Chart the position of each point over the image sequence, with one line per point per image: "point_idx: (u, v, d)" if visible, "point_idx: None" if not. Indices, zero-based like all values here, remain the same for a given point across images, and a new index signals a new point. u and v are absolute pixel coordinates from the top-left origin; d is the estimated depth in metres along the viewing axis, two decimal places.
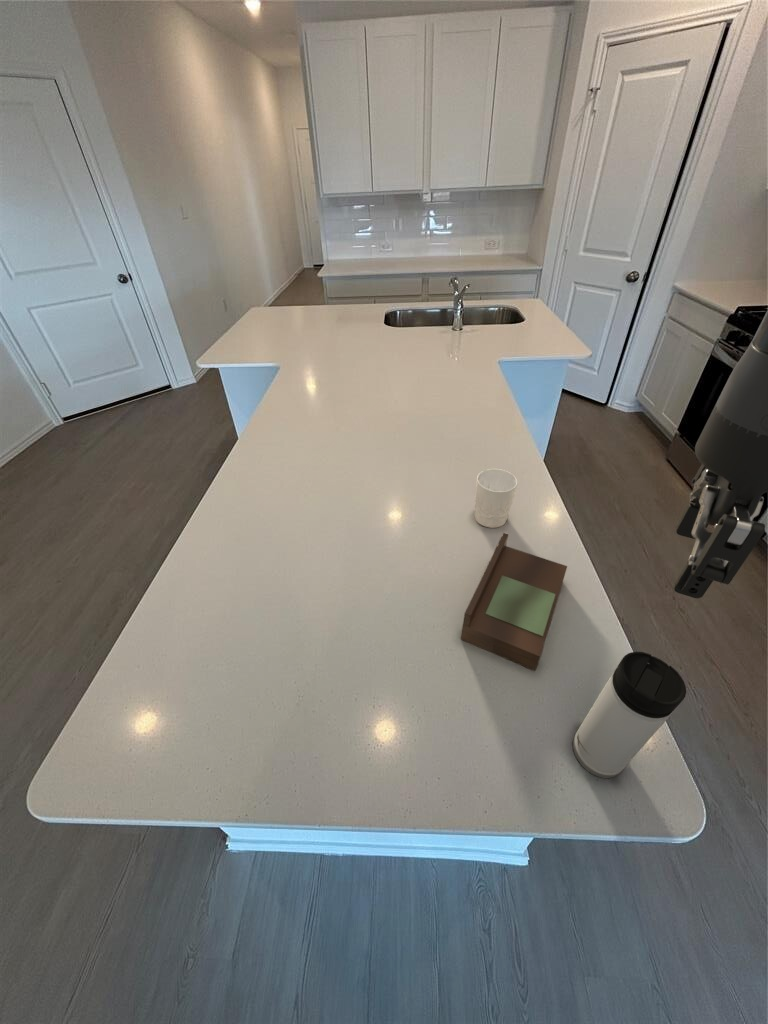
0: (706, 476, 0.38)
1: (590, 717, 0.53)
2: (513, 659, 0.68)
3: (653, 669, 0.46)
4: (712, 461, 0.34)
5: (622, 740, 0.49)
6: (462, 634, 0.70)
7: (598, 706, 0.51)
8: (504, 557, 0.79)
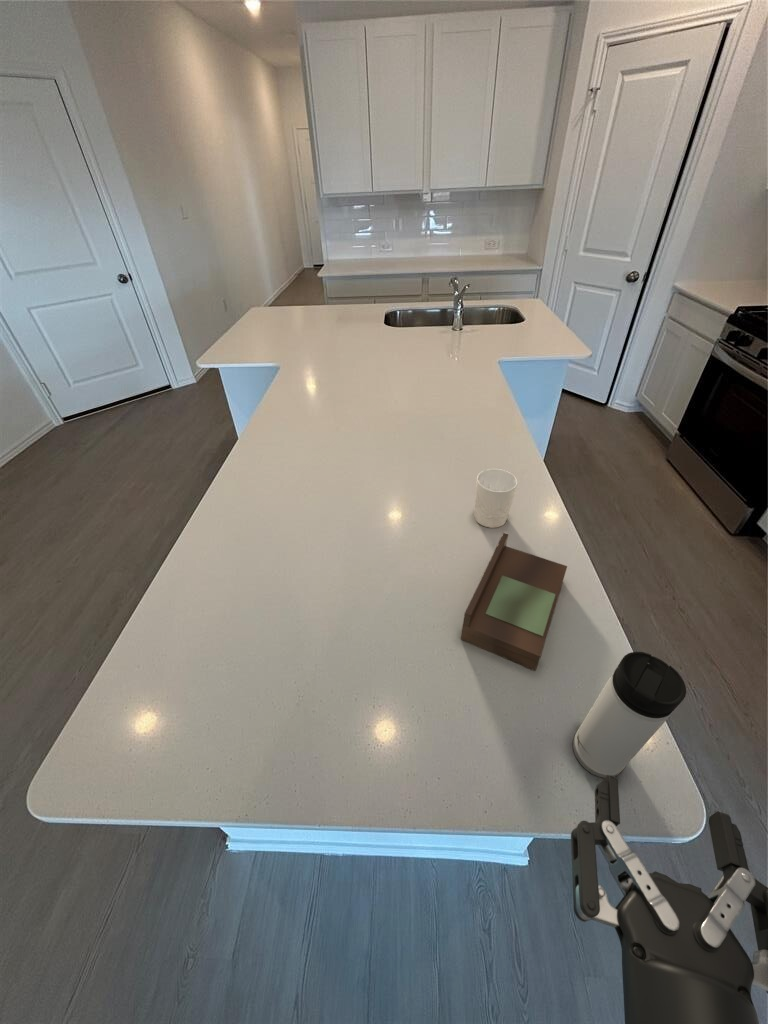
0: None
1: (590, 717, 0.53)
2: (513, 659, 0.68)
3: (653, 669, 0.46)
4: None
5: (622, 740, 0.49)
6: (462, 634, 0.70)
7: (598, 706, 0.51)
8: (504, 557, 0.79)
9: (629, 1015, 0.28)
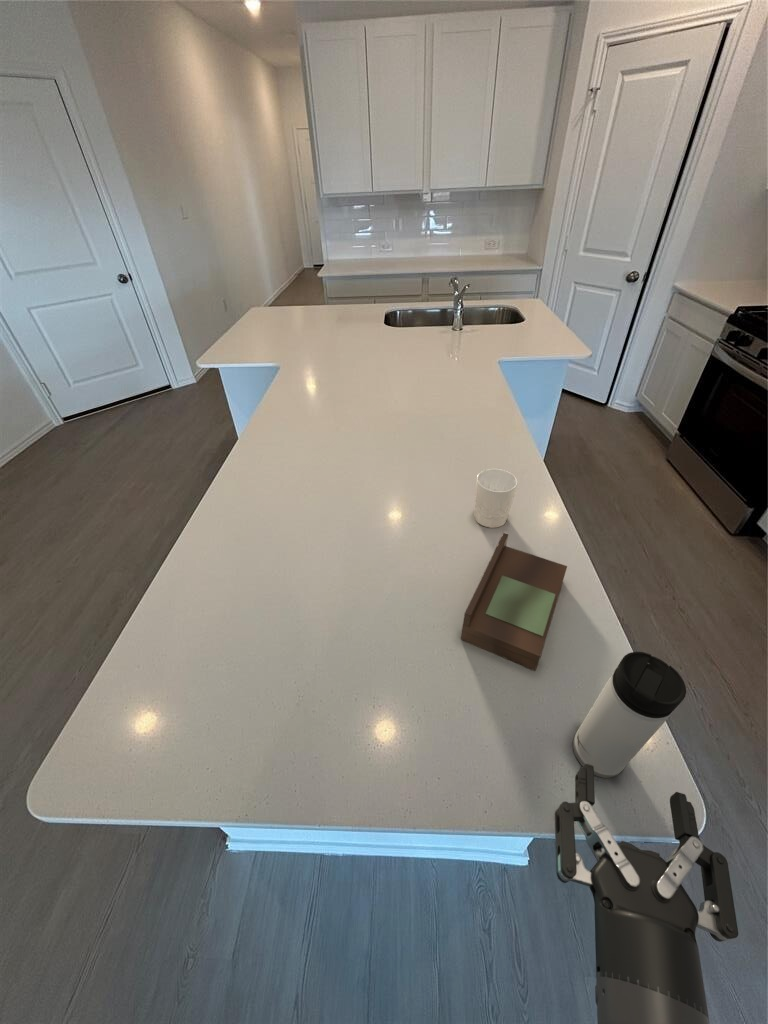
0: None
1: (590, 717, 0.53)
2: (513, 659, 0.68)
3: (653, 669, 0.46)
4: None
5: (622, 740, 0.49)
6: (462, 634, 0.70)
7: (598, 706, 0.51)
8: (504, 557, 0.79)
9: (598, 952, 0.36)
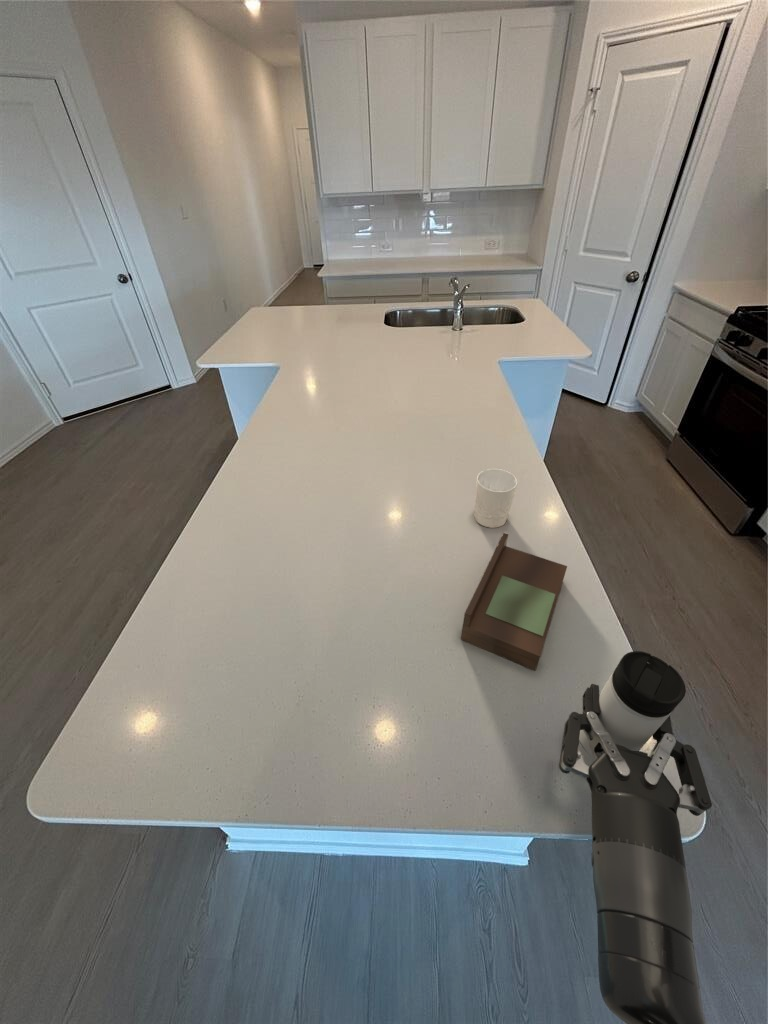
0: None
1: None
2: (513, 659, 0.68)
3: (653, 668, 0.46)
4: None
5: (621, 739, 0.49)
6: (462, 634, 0.70)
7: None
8: (504, 557, 0.79)
9: (594, 827, 0.42)
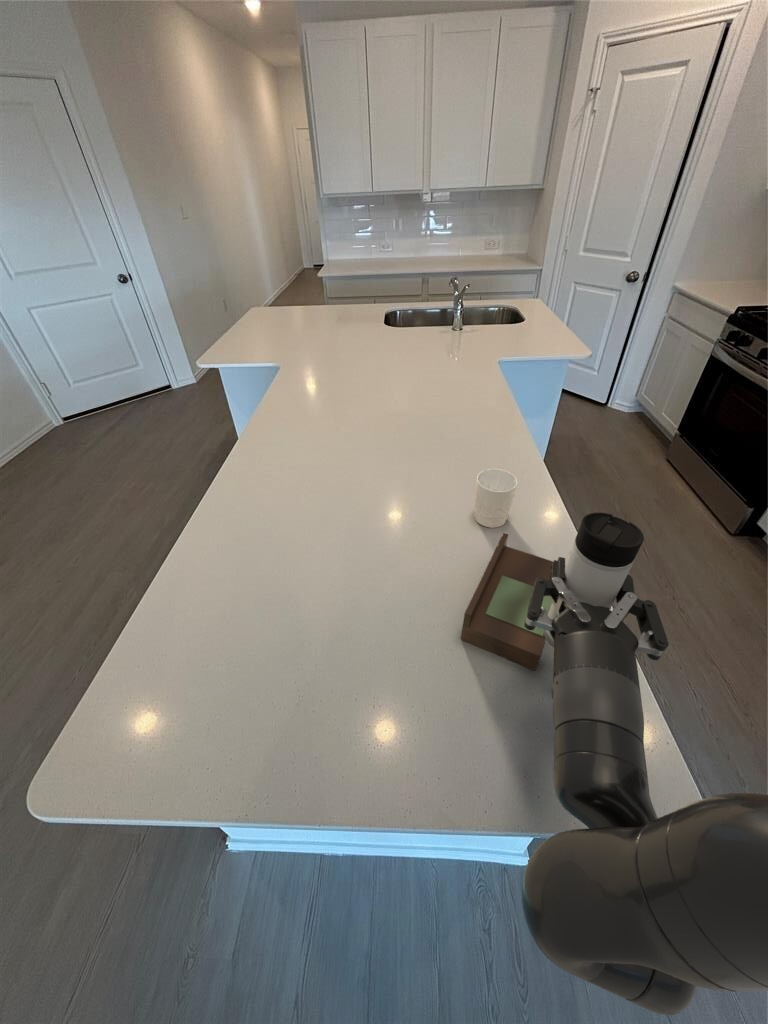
0: None
1: None
2: (513, 659, 0.68)
3: (613, 525, 0.48)
4: None
5: (586, 601, 0.50)
6: (462, 634, 0.70)
7: None
8: (504, 557, 0.79)
9: (554, 665, 0.43)
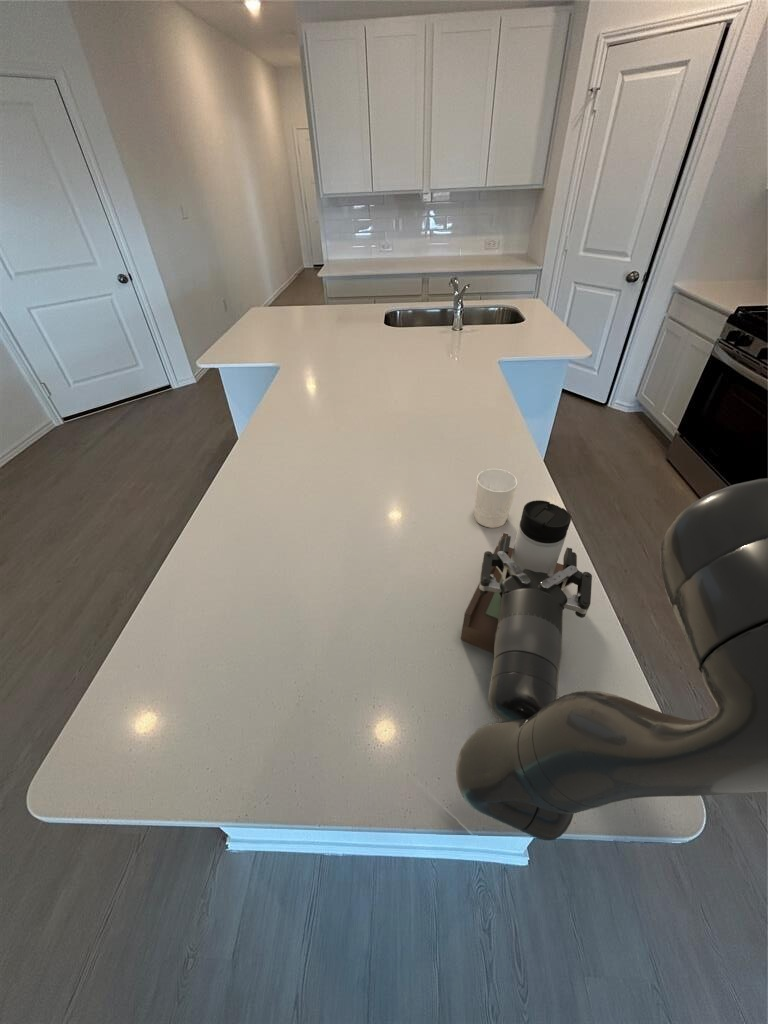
0: None
1: None
2: None
3: (549, 510, 0.60)
4: None
5: None
6: (462, 634, 0.70)
7: (513, 551, 0.64)
8: None
9: (499, 616, 0.55)
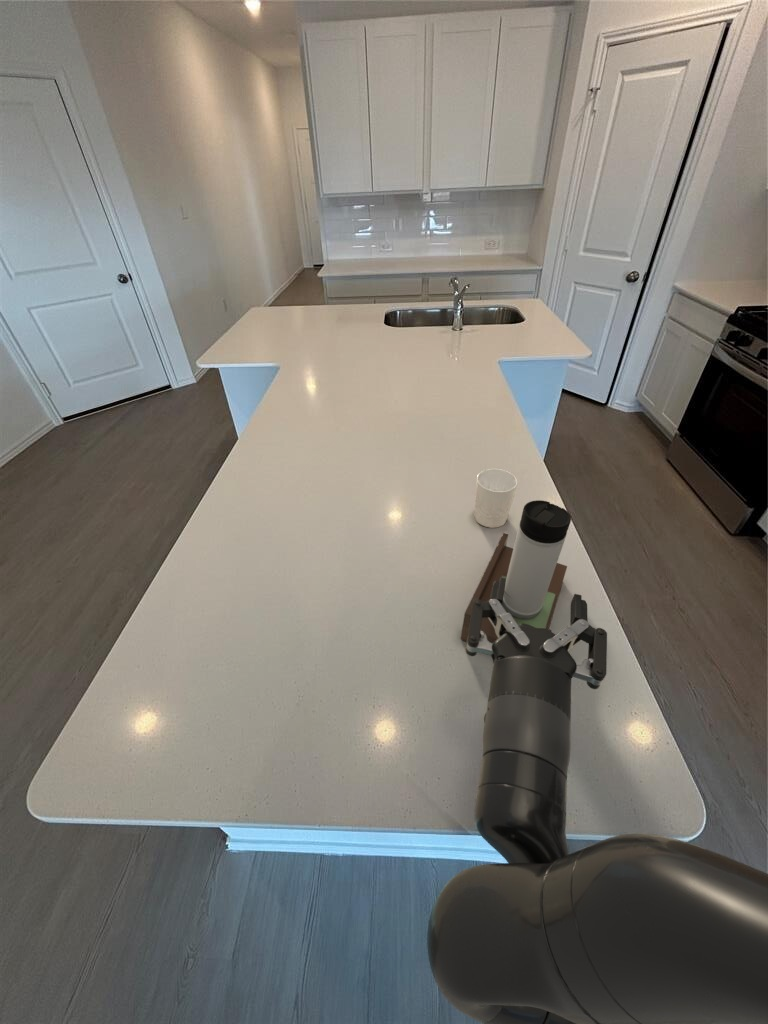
0: None
1: (509, 565, 0.66)
2: None
3: (549, 510, 0.60)
4: None
5: (529, 572, 0.62)
6: (462, 634, 0.70)
7: (513, 551, 0.64)
8: (504, 557, 0.79)
9: (490, 690, 0.43)
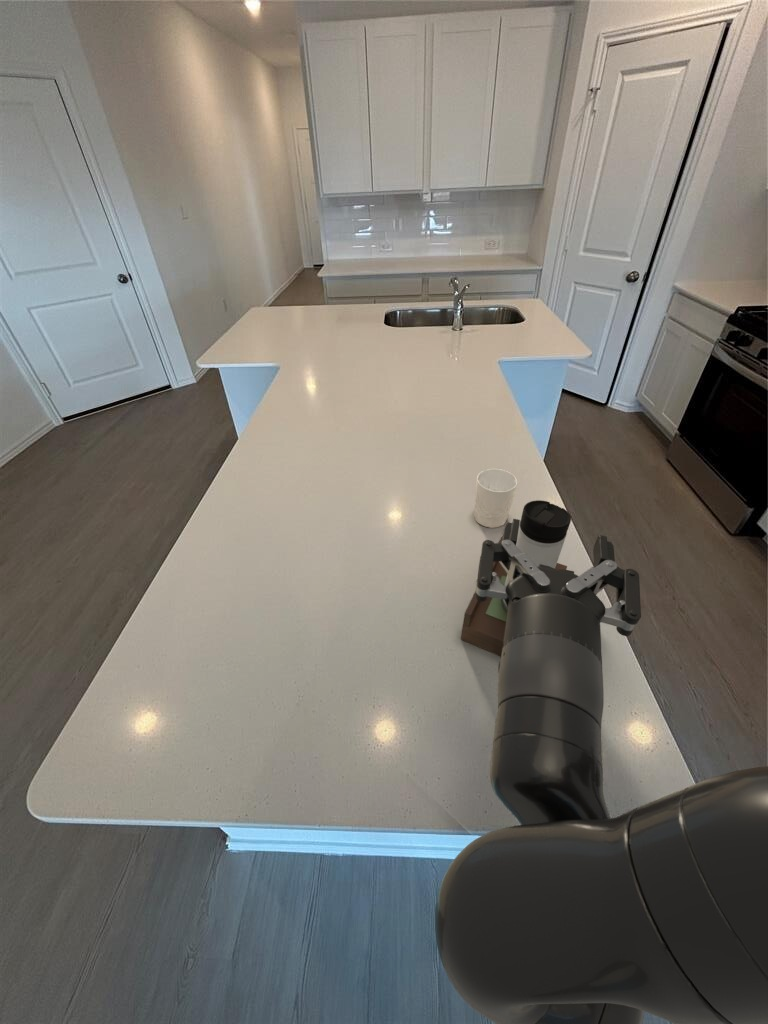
0: None
1: None
2: None
3: (549, 510, 0.60)
4: None
5: None
6: (462, 634, 0.70)
7: None
8: None
9: (504, 635, 0.37)
